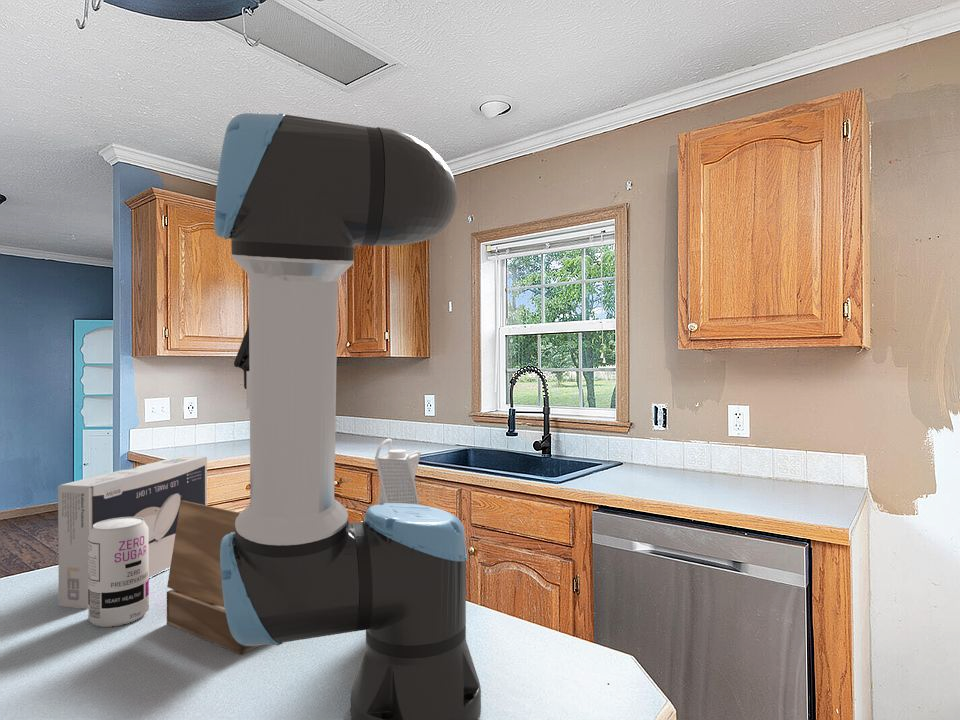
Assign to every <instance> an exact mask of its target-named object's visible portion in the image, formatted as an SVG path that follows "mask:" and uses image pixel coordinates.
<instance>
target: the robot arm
mask: <svg viewBox="0 0 960 720" xmlns="http://www.w3.org/2000/svg"><path fill="white" fill-rule="evenodd" d="M222 142H223V143H222V146H221V147H222V148H221V152H220V153H221V155H220V159H219V167H218V173H217V183H216V190H215V191H216V192H215V201H214V203H215V204H214V205H215V206H214V207H215V208H214V209H215V210H214V221H213V222H214V223H213V226H214V228H213V229H214V233H215V235H216V236H217V237H219V238H222V239H224V240H225V241H226V240H228V239H230V240H231V241H230V242H231V259H233V260H234V261H235V262H236V263H237V265H238V266H240V268H241V269H242V270H243V271H244V272H245V273H246V274H247V277H248V319H247V320H248V321H247V328H246V331H245V333H244V336H243V339H242V341H241V343H240V346H239V347H238V351H237V354H236V357H235V360H234V362H233V366H234V367H235V368H239V369H242V371H243V387H244V389H245V390H246V409H249V481H250V482H249V486H250V487H249V489H250V491H249V494H250V496H249V498H250V499H249V500H250V502H249V503H250V504H249V505H247V506H246V507H245V508H244V509H243V510H242V511H241V512H239V513H240V514H239V515H238V516H237V518H236V521H235V532H231V533H230V534H227V535H225V536H224V537H223V538H222V541H221V547H220V567H221V575H222V592H223V600H224V606H225V612H226V617H227V622H228V626H229V629H230V632H231V635H232V636H233V638H234V639H235V640H236V641H237V642H238V643H240V644H241V645H244V646H255V645H260V646H263V645H264V646H265V645H274V646H280V645H281V646H282V644H283V643H288V642H295V641H301V640H308V639H315V638H320V637H328V636H335V635H340V634H348V633H355V632H358V631H359V632H360V631H361V632H362V631H365V646H364V649H363V653H362V656H361V658H360V662H359V665H358V668H357V669H358V670H357V671H356V675H355V679H354V681H353V685H352V689H351V691H350V720H478V718H479V717H480V713H481V709H482V706H481V705H482V690H481V688H482V687H481V682H480V680H479V676H478V674H477V670H476V667H475V664H474V661H473V657H472V655H471V652H470V649H469V645H468V642H467V635H466V634H467V629H466V627H467V610H466V607H467V606H466V605H467V602H466V601H467V597H466V596H467V592H466V591H467V585H466V584H467V583H466V582H467V580H466V579H467V577H466V576H467V561H468V553H467V545H466V534H465V533H466V532H465V531H466V530H465V526H464V524H463V523H462V521H461V519H459V518H458V517H457V516H456V515H454V514H452V513H451V512H449V511H446V510H444V509H442V508H438V507H433V506H428V505H423V504H420V505H417V504H406V503H384V504H380V505H377V504H373V505H371V506H369V507H368V508H367V509H366V511H365V514H364V515H363V521H358V522H349V512H348V510H347V508H346V507H345V506H344V505H343V504H342V503H340V502H339V501H338V500H336V498H335V480H336V479H335V478H336V477H335V471H336V470H335V469H336V466H335V465H336V420H337V419H336V417H337V415H336V413H337V411H336V409H337V365H339V359H338V357H337V355H338V354H337V353H338V352H337V350H338V349H337V348H338V343H337V342H338V304H339V303H338V302H339V301H338V297H339V295H338V294H339V293H338V290H339V280H340V278H341V276H342V275H343V274H344V273H345V272H346V271H348V269H349V268H350V267H352V266H353V265H354V261H355V260H354V258H355V257H354V256H355V255H354V254H355V246H364V247H365V246H366V247H393V246H404V245H405V246H406V245H412V244H416V243H421V242H425V241H428V240H430V239H433V238H434V237H436V236H437V235H439V234H441V233H442V232H443V231H444V230H445V229H446V228H447V227H448V225H449V224H450V222H451V221H452V219H453V217H454V215H455V211H456V208H457V202H458V201H457V200H458V191H457V185H456V182H455V178H454V176H453V173H452V171H451V170H450V168H449V166H448V165H447V164H446V162H445V161H444V160H443V158H442V157H441V156H440V154H438V153H437V152H436V151H435V150H434V149H432V148H431V147H430V146H429V145H428V144H426V143H424V142H423V141H421V140H419V139H418V138H416V137H415V136H412V135H409V134H408V133H405V132H402V131H399V130H396V129H393V128H386V127H378V126H377V127H374V126H373V127H372V126H367V125H359V124H354V123H345V122H338V121H332V120H325V119H318V118H312V117H304V116H298V115H289V114H284V113H278V114H274V113H273V114H272V113H251V112H244V113H243V112H242V113H240V114H238V115H235V116H234V117H233V118H232V119H231V120H230V121H229V122H228V124H227V126H226V130H225V132H224V137H223V141H222Z"/></svg>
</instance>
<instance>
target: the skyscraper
mask: <svg viewBox="0 0 960 720" xmlns="http://www.w3.org/2000/svg"><path fill="white" fill-rule="evenodd" d="M387 442H389V445H388V450H387V451H388V452H387V454H384V455H382V456H379V455H380V452H381V449H382V447H383V446H384V444H386V443H387ZM392 447H393V440H392V438H390V437H389V438H386V439H383V441H382V442H381V443H380V444H379V446H378V448H377V450H376V454H375V456H374V457H375V458H374V460H375V464H376V469H377V473H378V478H379V482H380V484H379V485H380V486H379V490H378V496H377V502H376V505H380V504H384V503H406V504H417V505H421V504H420V499H419V495H418V494H419V493H418V490H417V486H416V481H415V479H416V475H417V470H418V466H419V462H420V458H421V452H420V450H413V451H412V452H410V453H407V450H406V449H392Z"/></svg>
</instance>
